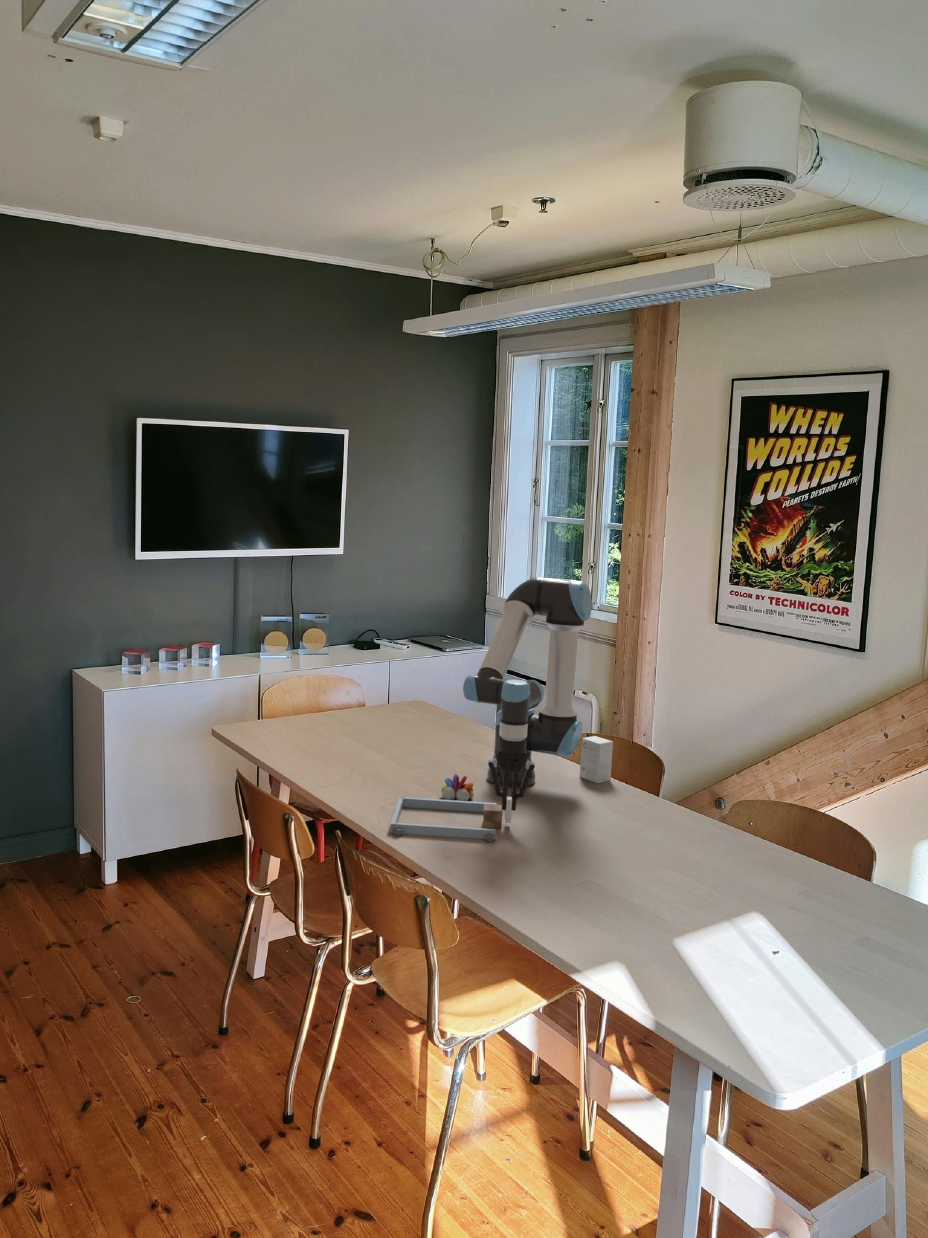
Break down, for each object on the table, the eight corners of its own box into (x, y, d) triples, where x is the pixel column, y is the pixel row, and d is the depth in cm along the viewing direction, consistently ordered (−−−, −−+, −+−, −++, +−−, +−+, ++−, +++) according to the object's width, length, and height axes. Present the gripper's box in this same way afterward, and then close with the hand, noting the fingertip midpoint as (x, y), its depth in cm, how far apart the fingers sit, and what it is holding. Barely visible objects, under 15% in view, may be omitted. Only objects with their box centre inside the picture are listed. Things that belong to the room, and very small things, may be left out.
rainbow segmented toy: (470, 805, 293) (471, 780, 292) (438, 801, 295) (439, 777, 294) (476, 796, 301) (477, 772, 300) (444, 792, 303) (445, 769, 302)
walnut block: (501, 822, 279) (502, 805, 279) (501, 829, 274) (502, 811, 274) (483, 821, 279) (484, 804, 279) (483, 828, 274) (484, 810, 274)
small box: (610, 780, 323) (613, 741, 321) (597, 784, 319) (600, 744, 317) (592, 774, 329) (595, 735, 327) (578, 777, 325) (581, 737, 323)
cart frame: (496, 809, 290) (496, 800, 290) (494, 843, 264) (495, 833, 263) (399, 802, 291) (400, 794, 291) (388, 836, 265) (389, 826, 264)
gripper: (536, 735, 277) (531, 818, 280) (489, 732, 277) (484, 815, 280) (537, 742, 269) (532, 827, 273) (489, 739, 270) (484, 824, 273)
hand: (507, 821), depth 277 cm, fingers closed
